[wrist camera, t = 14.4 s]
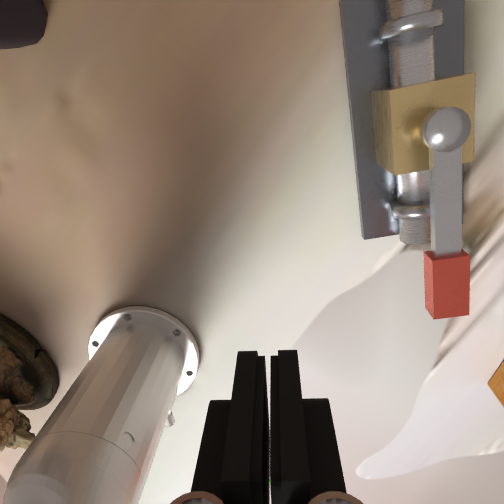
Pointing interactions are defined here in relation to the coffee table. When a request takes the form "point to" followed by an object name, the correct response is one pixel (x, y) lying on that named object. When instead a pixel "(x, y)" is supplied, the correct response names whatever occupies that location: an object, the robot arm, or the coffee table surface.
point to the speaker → (21, 22)
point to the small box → (498, 384)
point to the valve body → (401, 104)
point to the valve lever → (446, 213)
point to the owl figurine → (22, 383)
